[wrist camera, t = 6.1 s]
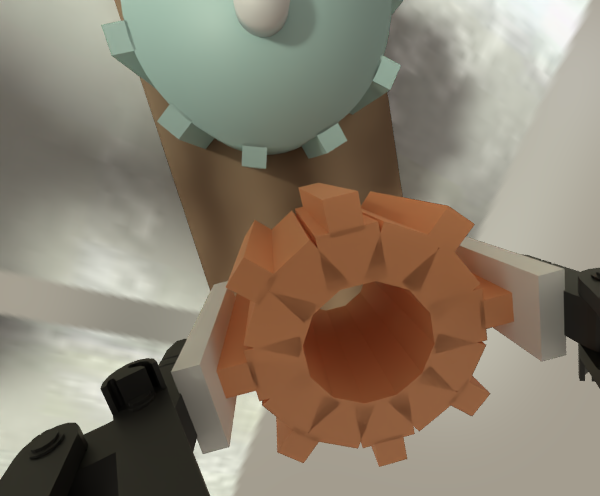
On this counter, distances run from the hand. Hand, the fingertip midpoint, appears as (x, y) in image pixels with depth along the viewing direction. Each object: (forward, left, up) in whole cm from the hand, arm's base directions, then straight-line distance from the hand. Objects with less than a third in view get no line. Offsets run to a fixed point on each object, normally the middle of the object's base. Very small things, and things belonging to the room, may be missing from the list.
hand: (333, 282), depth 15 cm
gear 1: (0, +13, -9) cm, 16 cm away
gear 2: (0, 0, -2) cm, 2 cm away
